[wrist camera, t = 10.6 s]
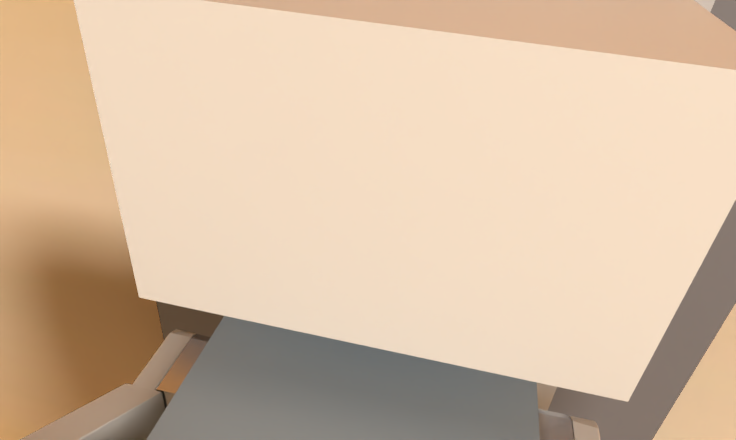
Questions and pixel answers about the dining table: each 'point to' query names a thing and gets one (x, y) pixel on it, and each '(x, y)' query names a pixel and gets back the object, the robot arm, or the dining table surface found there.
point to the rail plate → (436, 180)
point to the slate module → (338, 393)
